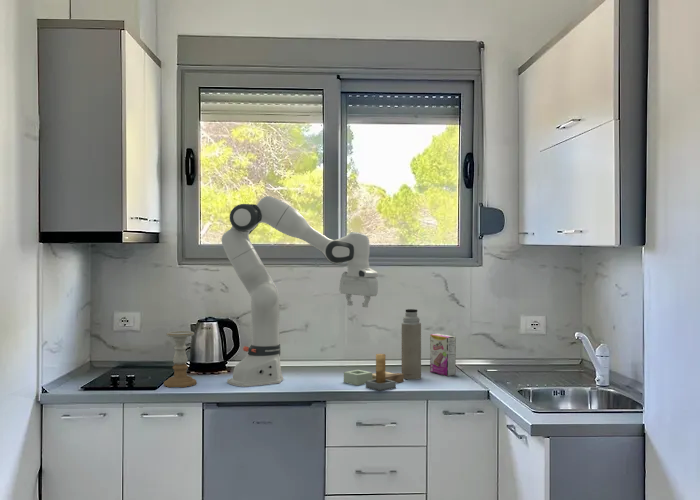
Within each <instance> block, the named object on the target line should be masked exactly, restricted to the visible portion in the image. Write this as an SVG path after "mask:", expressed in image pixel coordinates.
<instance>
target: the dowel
mask: <svg viewBox="0 0 700 500" xmlns="http://www.w3.org/2000/svg"><path fill="white" fill-rule="evenodd" d="M385 372H386V353H376V354H375V373H376V383H380V384H381V383H385Z"/></svg>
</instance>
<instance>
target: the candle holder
mask: <svg viewBox="0 0 700 500" xmlns="http://www.w3.org/2000/svg"><path fill="white" fill-rule="evenodd" d="M194 335H195V332H194V331H190V330H177V331H175V330H174V331H169V332H167V333H166V335H165V336H167V337H168V338H169V337H170V338H172V339H173V340H174V343H175V346H173V349H174V356H173V358H172V361H173V364H174V365H173V366H172V367H171V368H172V369H173V370H174V373H173V376H171V377H168V378H167V379H166V380H165V381H163V386H164V385H165V386H164V387H166V386H167V387H166V388H171V387H181V388H188V387H187V386H189V387H193V386H195V385H197V380H196V379H195V378H193V377H192V376H190V375H188V373H187V370H188V368H189V366H188V365H187V363H188V361H189V360H188V355H187V351H186V349H188V346H187V345H186V341H187V340H188V338H189V337H193V336H194ZM192 385H193V386H192Z"/></svg>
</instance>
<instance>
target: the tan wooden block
mask: <svg viewBox="0 0 700 500" xmlns="http://www.w3.org/2000/svg"><path fill="white" fill-rule="evenodd" d="M389 374H395V373H394V372H389V371H385V375H389ZM374 379H376V372H374V373H373V372H372V380H374Z"/></svg>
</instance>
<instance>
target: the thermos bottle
mask: <svg viewBox="0 0 700 500" xmlns="http://www.w3.org/2000/svg"><path fill="white" fill-rule="evenodd" d="M420 320H421V319H420V317H419V316H418V309H414V308H408V309H405V315H404V317H403V318H402V321H403V322H401V373H402V374H404V380H420V379H421V378H422V323H421V322H420Z"/></svg>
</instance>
